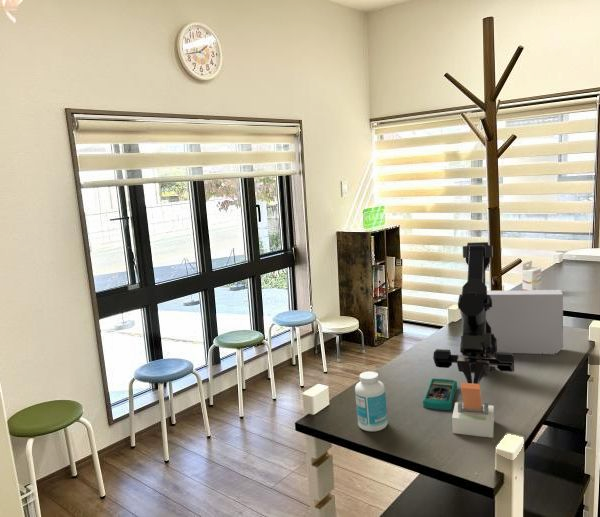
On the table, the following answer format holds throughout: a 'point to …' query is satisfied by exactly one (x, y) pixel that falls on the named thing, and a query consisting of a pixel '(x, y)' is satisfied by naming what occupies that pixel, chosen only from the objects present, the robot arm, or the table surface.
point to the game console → (527, 321)
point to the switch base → (473, 421)
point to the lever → (471, 397)
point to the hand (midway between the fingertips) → (472, 393)
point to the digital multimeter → (440, 394)
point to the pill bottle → (371, 402)
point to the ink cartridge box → (531, 277)
